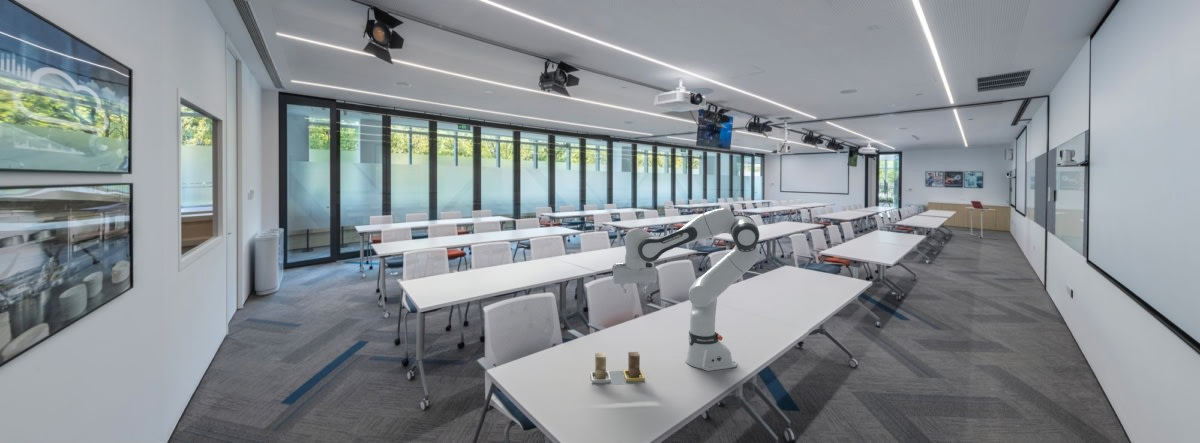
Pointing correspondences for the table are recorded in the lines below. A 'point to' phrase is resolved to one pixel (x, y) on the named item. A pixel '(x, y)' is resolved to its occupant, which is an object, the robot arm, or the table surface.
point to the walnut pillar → (633, 364)
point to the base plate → (617, 378)
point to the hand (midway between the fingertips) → (634, 292)
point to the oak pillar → (600, 365)
